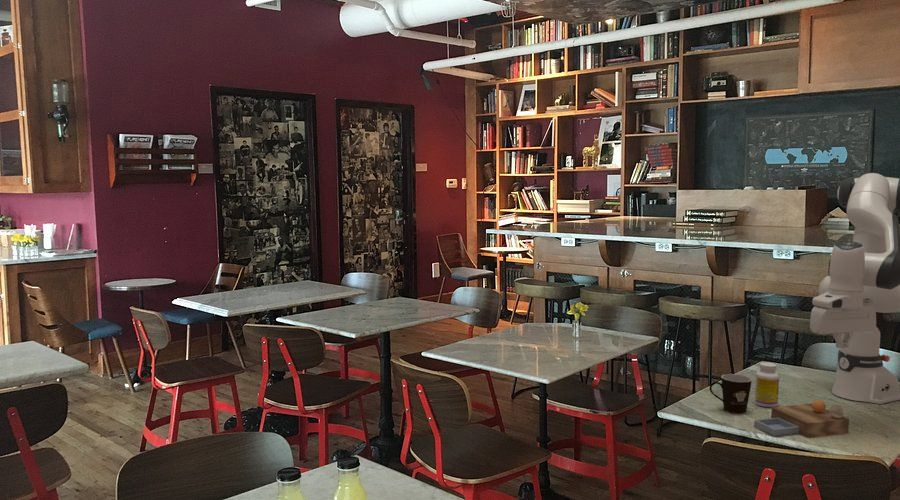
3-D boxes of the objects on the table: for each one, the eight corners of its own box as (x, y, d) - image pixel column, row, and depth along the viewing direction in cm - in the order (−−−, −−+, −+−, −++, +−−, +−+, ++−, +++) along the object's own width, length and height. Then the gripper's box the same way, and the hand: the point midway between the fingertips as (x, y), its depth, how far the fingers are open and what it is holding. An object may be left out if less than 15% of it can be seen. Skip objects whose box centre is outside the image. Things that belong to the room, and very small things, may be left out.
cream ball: (836, 415, 205) (837, 402, 205) (846, 419, 202) (847, 406, 202) (826, 416, 204) (826, 404, 204) (836, 420, 201) (836, 408, 201)
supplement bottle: (779, 408, 223) (782, 367, 222) (756, 407, 225) (758, 366, 223) (774, 402, 230) (776, 362, 229) (752, 400, 231) (754, 361, 230)
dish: (778, 424, 210) (778, 417, 209) (799, 434, 202) (799, 427, 202) (753, 426, 207) (754, 420, 207) (774, 436, 200) (774, 429, 199)
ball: (818, 409, 210) (819, 397, 210) (828, 413, 207) (829, 401, 207) (808, 410, 209) (809, 398, 209) (817, 414, 206) (818, 402, 206)
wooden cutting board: (810, 416, 216) (811, 403, 216) (848, 432, 203) (849, 418, 203) (770, 420, 212) (771, 407, 212) (806, 437, 199) (807, 423, 199)
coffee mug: (750, 408, 224) (752, 376, 223) (749, 416, 216) (751, 383, 215) (710, 402, 229) (712, 371, 228) (708, 411, 221) (709, 378, 220)
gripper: (865, 296, 213) (862, 342, 214) (807, 299, 207) (804, 346, 208) (883, 299, 207) (880, 347, 208) (824, 302, 201) (821, 352, 202)
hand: (842, 347), depth 208 cm, fingers closed
